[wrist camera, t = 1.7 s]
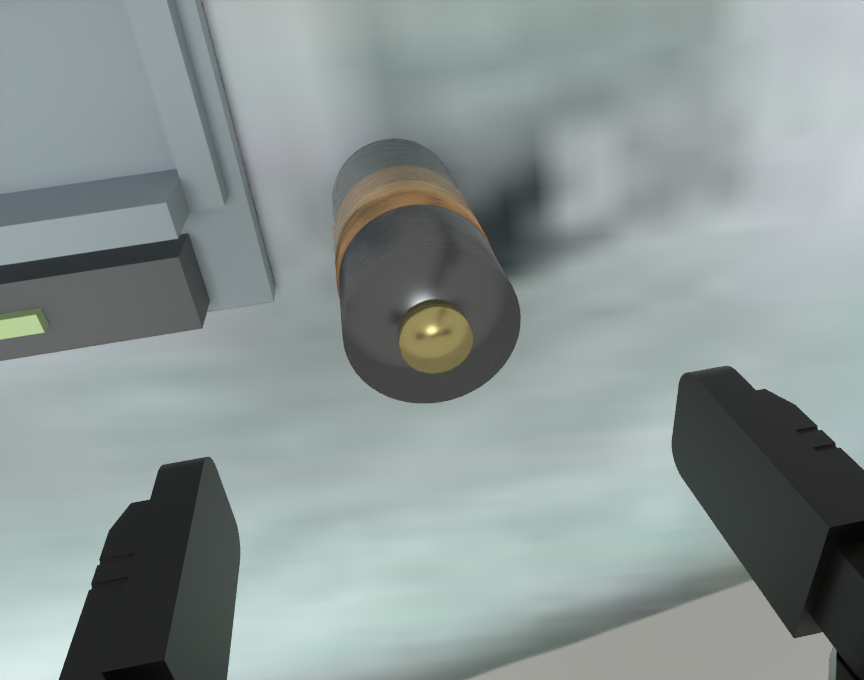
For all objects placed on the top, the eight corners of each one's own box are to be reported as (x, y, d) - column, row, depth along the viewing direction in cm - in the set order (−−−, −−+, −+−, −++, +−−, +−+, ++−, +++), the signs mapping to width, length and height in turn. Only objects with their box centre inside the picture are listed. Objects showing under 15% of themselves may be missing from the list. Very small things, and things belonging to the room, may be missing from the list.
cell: (448, 129, 21) (527, 240, 13) (459, 246, 23) (530, 401, 16) (320, 147, 21) (324, 273, 13) (342, 265, 23) (357, 431, 15)
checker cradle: (166, -135, 16) (128, -153, 13) (275, 288, 23) (268, 349, 20) (-304, -84, 16) (-473, -89, 12) (-55, 340, 22) (-120, 413, 19)
